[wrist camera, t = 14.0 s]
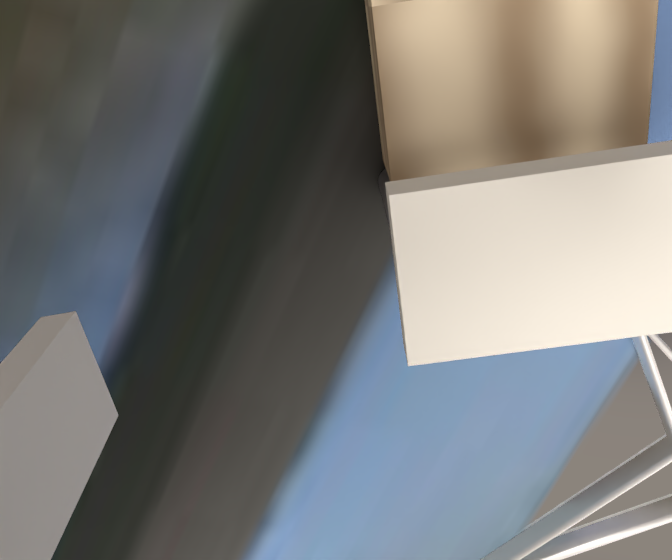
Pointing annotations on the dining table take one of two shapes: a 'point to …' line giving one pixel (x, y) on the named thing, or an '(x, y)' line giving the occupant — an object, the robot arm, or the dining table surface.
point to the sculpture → (604, 492)
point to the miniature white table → (533, 253)
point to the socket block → (508, 80)
